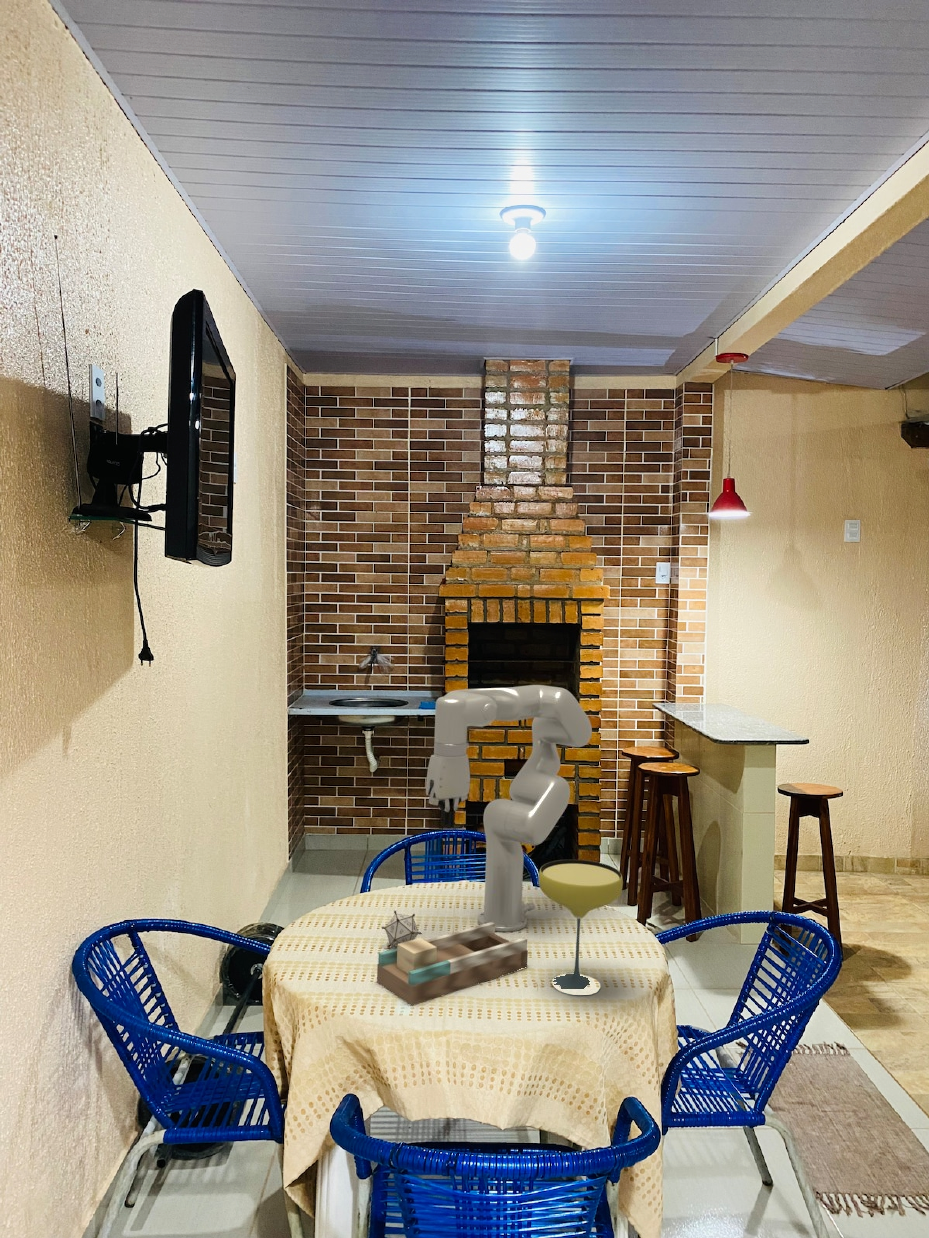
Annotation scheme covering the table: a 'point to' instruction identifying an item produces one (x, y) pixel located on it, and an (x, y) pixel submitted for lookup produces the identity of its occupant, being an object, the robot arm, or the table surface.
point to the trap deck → (454, 964)
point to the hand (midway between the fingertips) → (447, 826)
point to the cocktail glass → (579, 897)
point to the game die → (401, 929)
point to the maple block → (415, 955)
